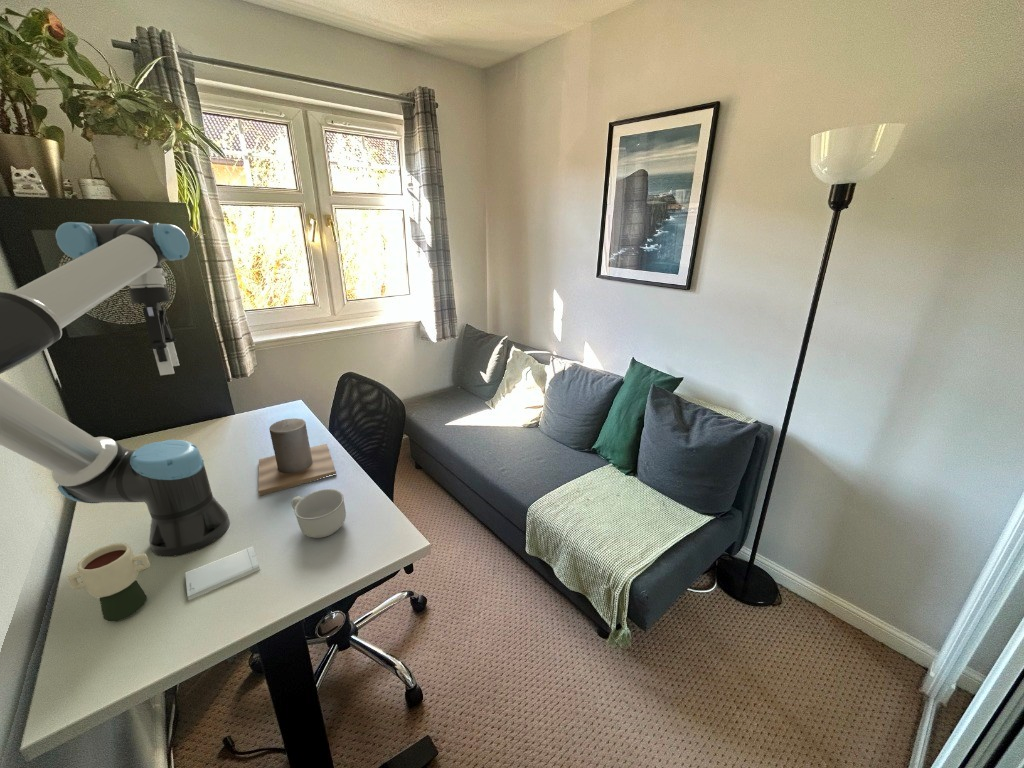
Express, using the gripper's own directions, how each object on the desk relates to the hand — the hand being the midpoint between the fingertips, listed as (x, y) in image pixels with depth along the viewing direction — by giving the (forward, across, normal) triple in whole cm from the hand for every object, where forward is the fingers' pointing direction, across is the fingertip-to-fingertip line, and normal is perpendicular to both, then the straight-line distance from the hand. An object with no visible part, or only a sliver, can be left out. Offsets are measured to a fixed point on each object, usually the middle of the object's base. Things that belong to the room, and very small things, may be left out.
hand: (170, 370), depth 107 cm
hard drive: (+40, -40, -4) cm, 56 cm away
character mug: (+39, -40, +11) cm, 57 cm away
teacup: (+38, -36, -24) cm, 58 cm away
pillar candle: (+34, -3, -24) cm, 41 cm away
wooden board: (+35, -3, -24) cm, 42 cm away
